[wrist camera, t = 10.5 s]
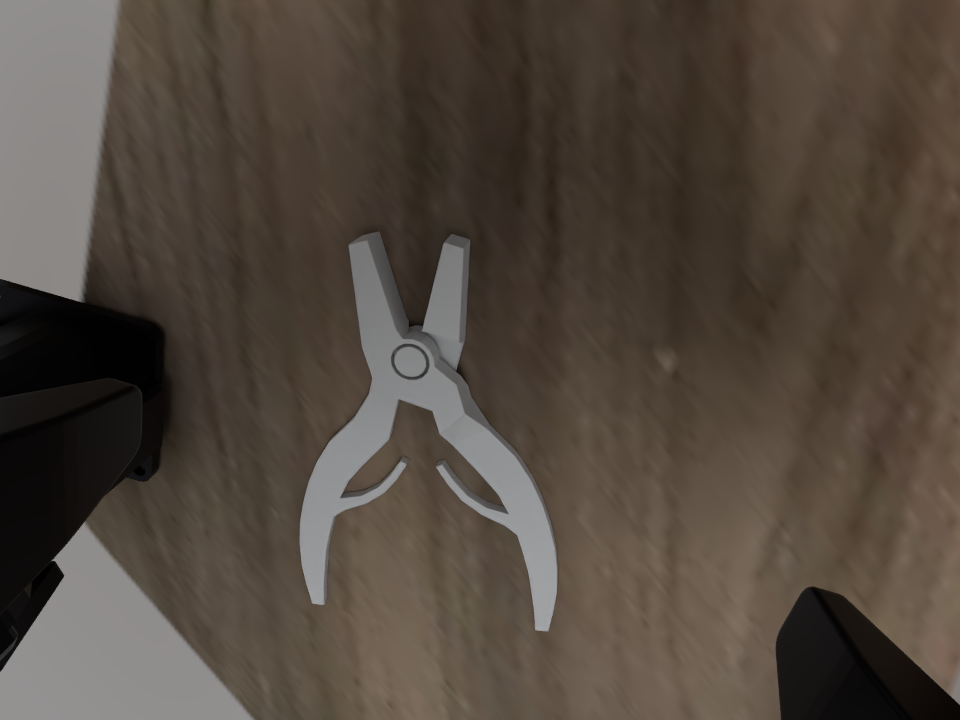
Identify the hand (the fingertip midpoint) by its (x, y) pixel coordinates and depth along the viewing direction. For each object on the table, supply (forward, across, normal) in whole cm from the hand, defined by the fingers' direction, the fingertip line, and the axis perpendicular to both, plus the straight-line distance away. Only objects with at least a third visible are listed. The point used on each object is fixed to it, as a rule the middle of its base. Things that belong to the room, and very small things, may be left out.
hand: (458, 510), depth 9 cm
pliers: (+14, +2, +8) cm, 16 cm away
